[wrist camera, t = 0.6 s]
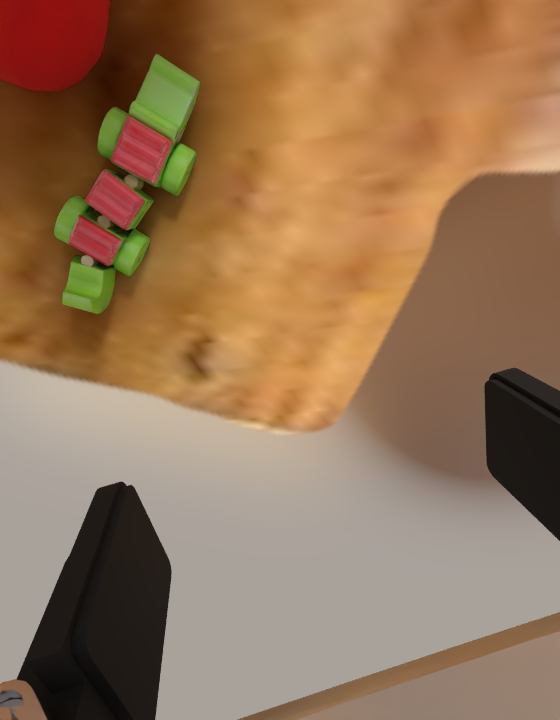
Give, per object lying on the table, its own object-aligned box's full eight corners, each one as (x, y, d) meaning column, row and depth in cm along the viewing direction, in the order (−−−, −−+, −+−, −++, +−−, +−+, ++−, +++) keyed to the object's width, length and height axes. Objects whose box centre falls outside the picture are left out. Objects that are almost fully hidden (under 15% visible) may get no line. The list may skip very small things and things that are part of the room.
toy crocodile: (149, 53, 30) (134, 17, 25) (225, 110, 32) (227, 89, 27) (44, 274, 35) (11, 287, 29) (117, 312, 37) (100, 331, 31)
